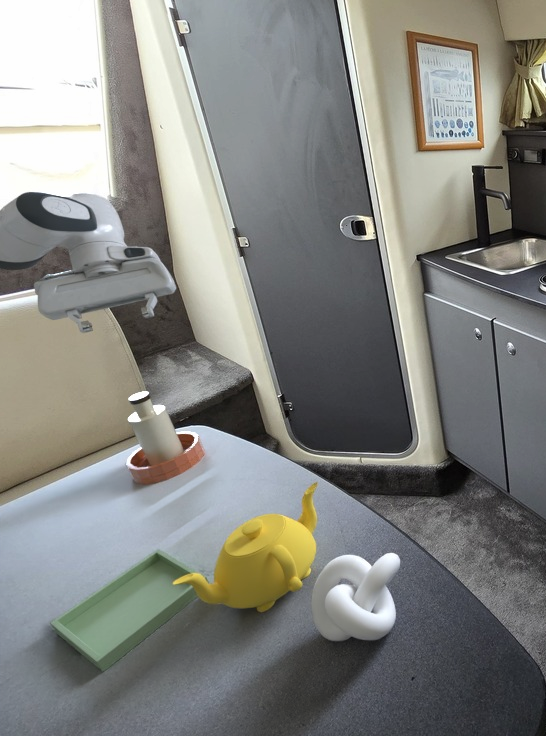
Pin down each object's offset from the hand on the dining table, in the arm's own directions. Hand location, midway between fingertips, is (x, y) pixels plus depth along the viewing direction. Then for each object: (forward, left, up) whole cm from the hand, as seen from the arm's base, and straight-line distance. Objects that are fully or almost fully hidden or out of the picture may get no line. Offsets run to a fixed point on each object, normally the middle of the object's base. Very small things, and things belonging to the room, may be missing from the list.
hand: (118, 323), depth 98 cm
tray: (+40, -24, -29) cm, 55 cm away
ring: (+10, -5, -29) cm, 31 cm away
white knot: (+74, -12, -30) cm, 81 cm away
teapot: (+56, -13, -30) cm, 65 cm away
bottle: (+10, -5, -29) cm, 31 cm away
